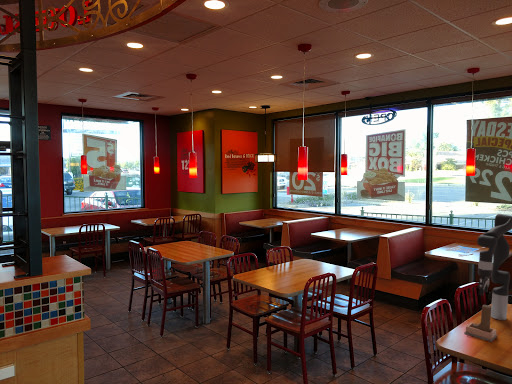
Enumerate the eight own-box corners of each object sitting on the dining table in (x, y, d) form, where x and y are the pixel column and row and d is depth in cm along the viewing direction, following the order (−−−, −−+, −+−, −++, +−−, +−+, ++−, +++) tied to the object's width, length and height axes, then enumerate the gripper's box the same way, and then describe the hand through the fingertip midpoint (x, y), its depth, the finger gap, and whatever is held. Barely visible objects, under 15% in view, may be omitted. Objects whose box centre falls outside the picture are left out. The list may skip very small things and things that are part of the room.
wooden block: (471, 332, 241) (473, 304, 239) (473, 330, 244) (475, 302, 243) (488, 336, 235) (490, 308, 234) (489, 334, 238) (491, 306, 237)
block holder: (470, 328, 249) (471, 321, 249) (496, 336, 238) (497, 329, 238) (464, 333, 241) (464, 326, 240) (491, 342, 230) (492, 334, 230)
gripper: (481, 264, 244) (480, 289, 245) (474, 268, 234) (473, 294, 235) (495, 267, 239) (493, 292, 240) (488, 271, 229) (486, 297, 230)
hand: (483, 293), depth 238 cm, fingers open, 8 cm apart
